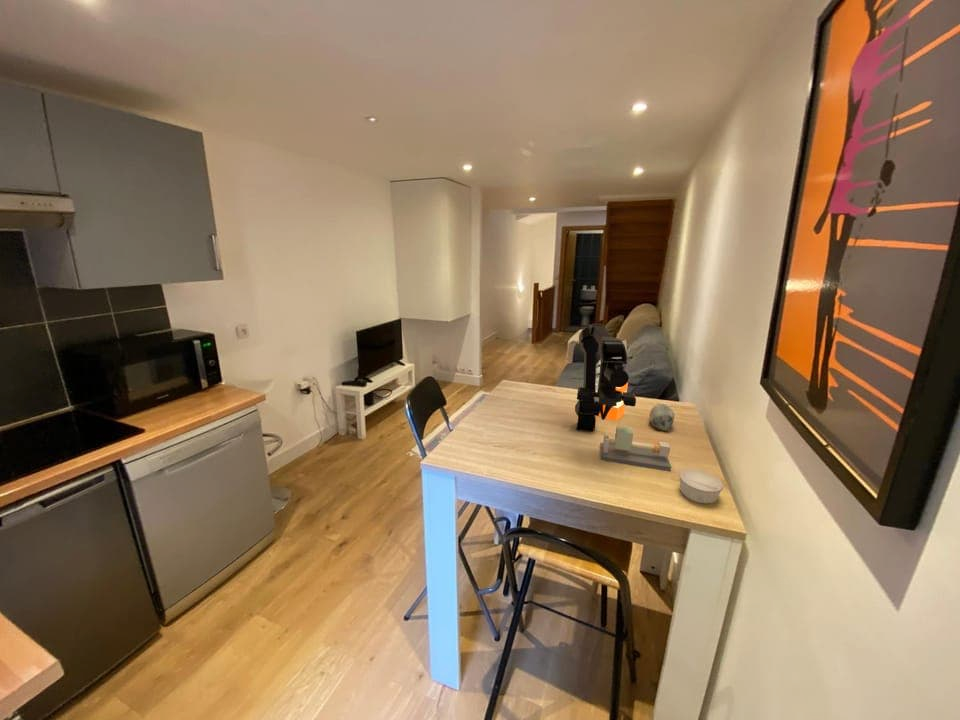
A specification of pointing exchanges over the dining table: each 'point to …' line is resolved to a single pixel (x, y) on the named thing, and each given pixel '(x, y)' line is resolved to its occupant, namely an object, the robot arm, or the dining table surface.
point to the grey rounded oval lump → (662, 417)
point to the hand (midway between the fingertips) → (602, 419)
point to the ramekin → (700, 486)
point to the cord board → (637, 454)
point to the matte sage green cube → (623, 438)
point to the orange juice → (617, 407)
